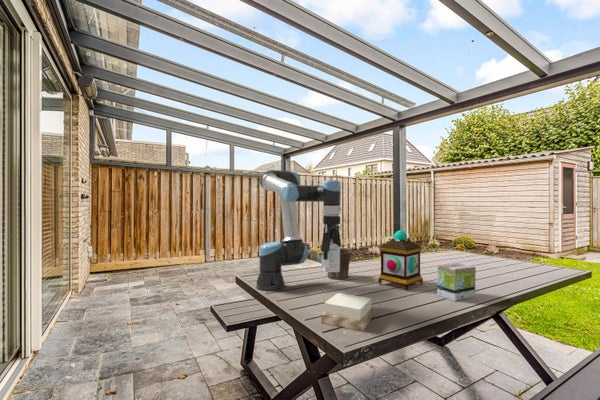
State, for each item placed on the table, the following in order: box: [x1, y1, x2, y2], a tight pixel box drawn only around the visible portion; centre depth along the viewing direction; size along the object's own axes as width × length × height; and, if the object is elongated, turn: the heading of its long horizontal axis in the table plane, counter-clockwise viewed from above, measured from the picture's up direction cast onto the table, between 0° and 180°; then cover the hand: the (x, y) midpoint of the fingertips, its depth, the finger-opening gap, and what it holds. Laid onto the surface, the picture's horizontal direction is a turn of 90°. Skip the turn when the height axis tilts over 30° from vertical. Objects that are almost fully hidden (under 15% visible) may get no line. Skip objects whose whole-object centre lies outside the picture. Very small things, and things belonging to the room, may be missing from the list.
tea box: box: [436, 263, 477, 302], centre depth 145 cm, size 15×10×15 cm
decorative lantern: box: [377, 230, 424, 292], centre depth 165 cm, size 20×20×30 cm
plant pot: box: [327, 248, 352, 281], centre depth 181 cm, size 16×16×16 cm
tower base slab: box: [320, 306, 374, 332], centre depth 117 cm, size 16×16×4 cm
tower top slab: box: [323, 292, 372, 321], centre depth 117 cm, size 14×14×4 cm
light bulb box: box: [321, 243, 341, 273], centre depth 133 cm, size 11×7×11 cm, turn 4°
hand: (331, 264), depth 133 cm, fingers closed on light bulb box, 12 cm apart
